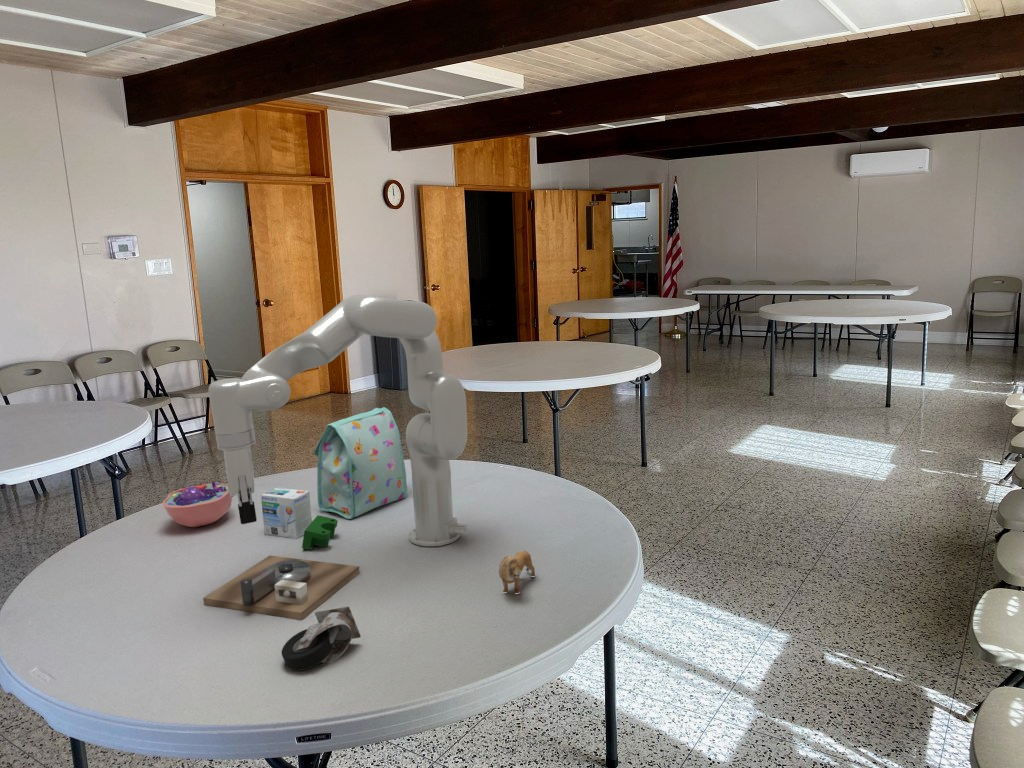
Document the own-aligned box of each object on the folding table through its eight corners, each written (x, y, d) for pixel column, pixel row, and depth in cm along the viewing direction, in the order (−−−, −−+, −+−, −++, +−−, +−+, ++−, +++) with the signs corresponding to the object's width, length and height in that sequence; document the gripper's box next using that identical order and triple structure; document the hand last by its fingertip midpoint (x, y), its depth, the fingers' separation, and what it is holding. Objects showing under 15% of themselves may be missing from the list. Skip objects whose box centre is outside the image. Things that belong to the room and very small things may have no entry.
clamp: (323, 563, 182) (324, 540, 178) (301, 559, 182) (302, 535, 178) (338, 531, 191) (339, 508, 187) (317, 526, 192) (318, 503, 187)
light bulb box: (263, 534, 192) (259, 494, 190) (280, 525, 198) (276, 486, 196) (297, 539, 188) (293, 498, 186) (313, 529, 194) (310, 490, 192)
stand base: (359, 572, 167) (357, 551, 166) (301, 620, 146) (299, 596, 145) (270, 561, 175) (268, 541, 174) (203, 605, 154) (200, 582, 153)
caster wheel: (283, 684, 130) (304, 644, 139) (344, 674, 127) (362, 635, 137) (268, 652, 128) (291, 614, 137) (331, 641, 125) (349, 604, 135)
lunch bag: (373, 488, 225) (367, 402, 220) (413, 497, 215) (407, 407, 210) (313, 512, 207) (304, 418, 202) (353, 523, 197) (345, 425, 192)
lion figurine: (520, 604, 150) (519, 562, 148) (495, 601, 151) (493, 560, 150) (538, 572, 164) (537, 534, 162) (515, 570, 165) (513, 532, 163)
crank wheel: (281, 566, 168) (279, 544, 167) (319, 571, 164) (317, 549, 163) (224, 604, 150) (222, 580, 149) (265, 611, 147) (263, 586, 146)
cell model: (249, 510, 210) (245, 472, 208) (209, 538, 191) (204, 496, 189) (195, 508, 213) (190, 471, 211) (150, 535, 194) (144, 494, 192)
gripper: (216, 433, 158) (229, 513, 162) (216, 450, 145) (230, 538, 149) (253, 427, 161) (265, 506, 165) (256, 444, 147) (269, 530, 151)
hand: (248, 521), depth 157 cm, fingers closed
